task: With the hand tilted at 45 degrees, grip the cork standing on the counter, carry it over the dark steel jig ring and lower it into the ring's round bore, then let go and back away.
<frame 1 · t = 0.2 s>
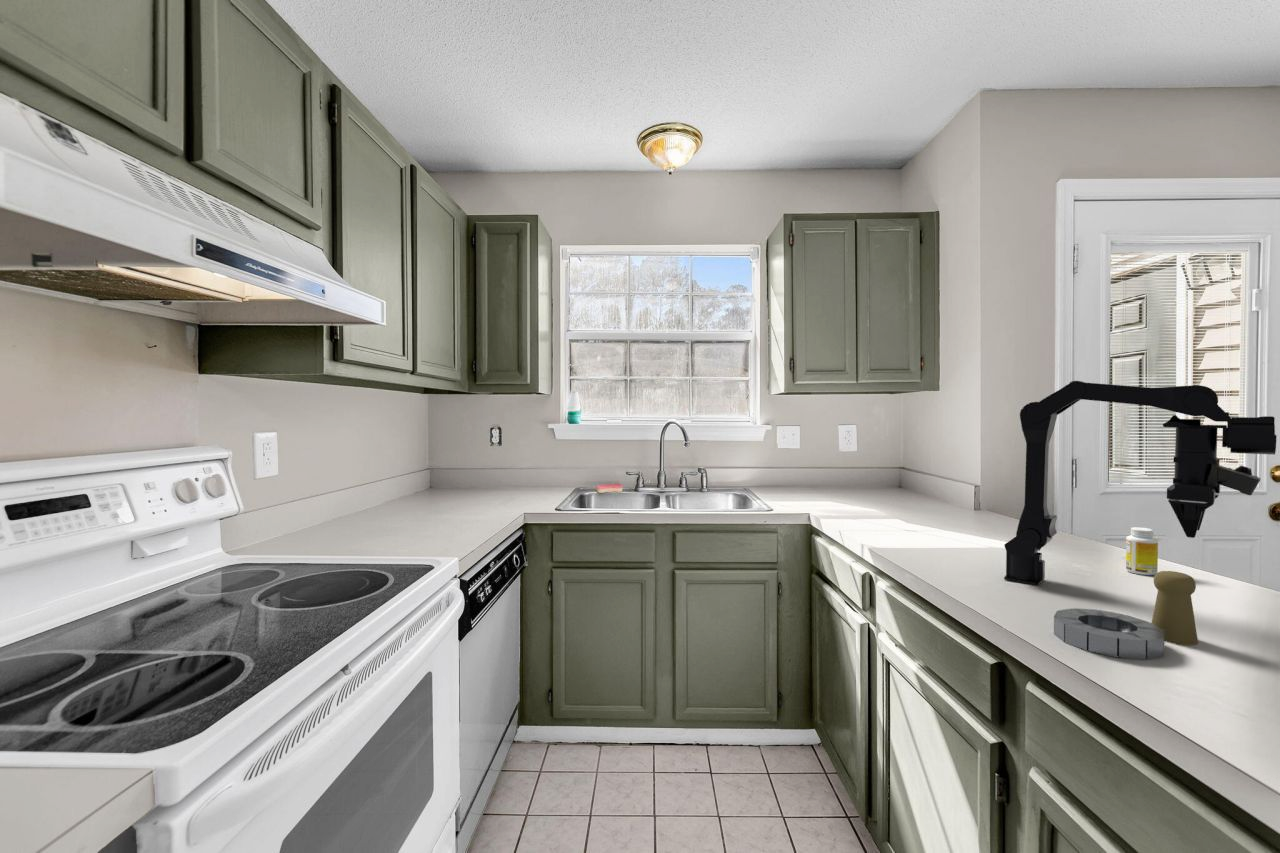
hand: (1193, 533, 111), 14 cm above the table, tool pointing down, fingers open, 9 cm apart
cork: (1173, 639, 98), on the table
supplement bottle: (1141, 573, 135), on the table
jig: (1106, 641, 96), on the table
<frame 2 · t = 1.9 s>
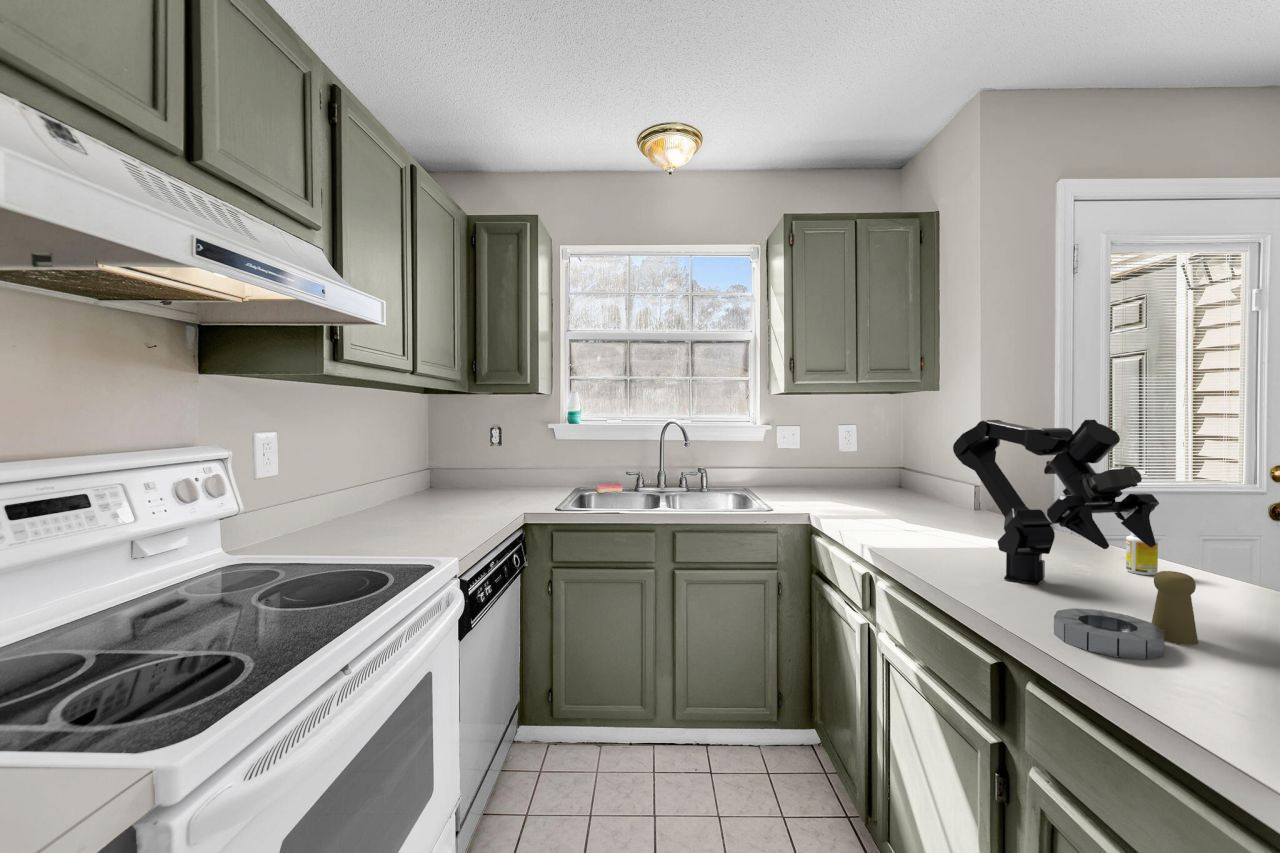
hand: (1130, 547, 105), 13 cm above the table, tool tilted 45°, fingers open, 9 cm apart
nothing on the table moved.
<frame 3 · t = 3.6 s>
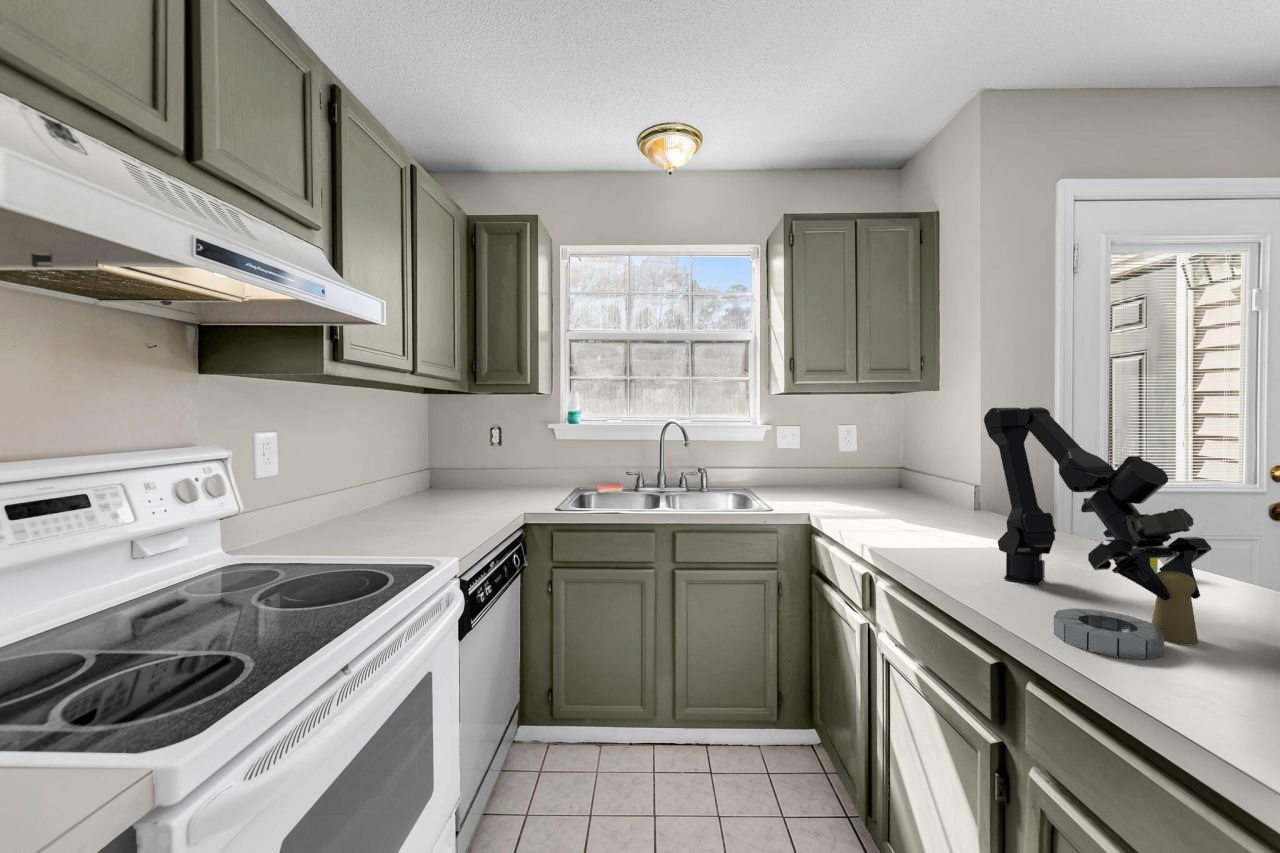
hand: (1182, 598, 96), 7 cm above the table, tool tilted 45°, fingers closed on cork, 5 cm apart
cork: (1173, 638, 98), on the table, touching gripper
everything else where it was.
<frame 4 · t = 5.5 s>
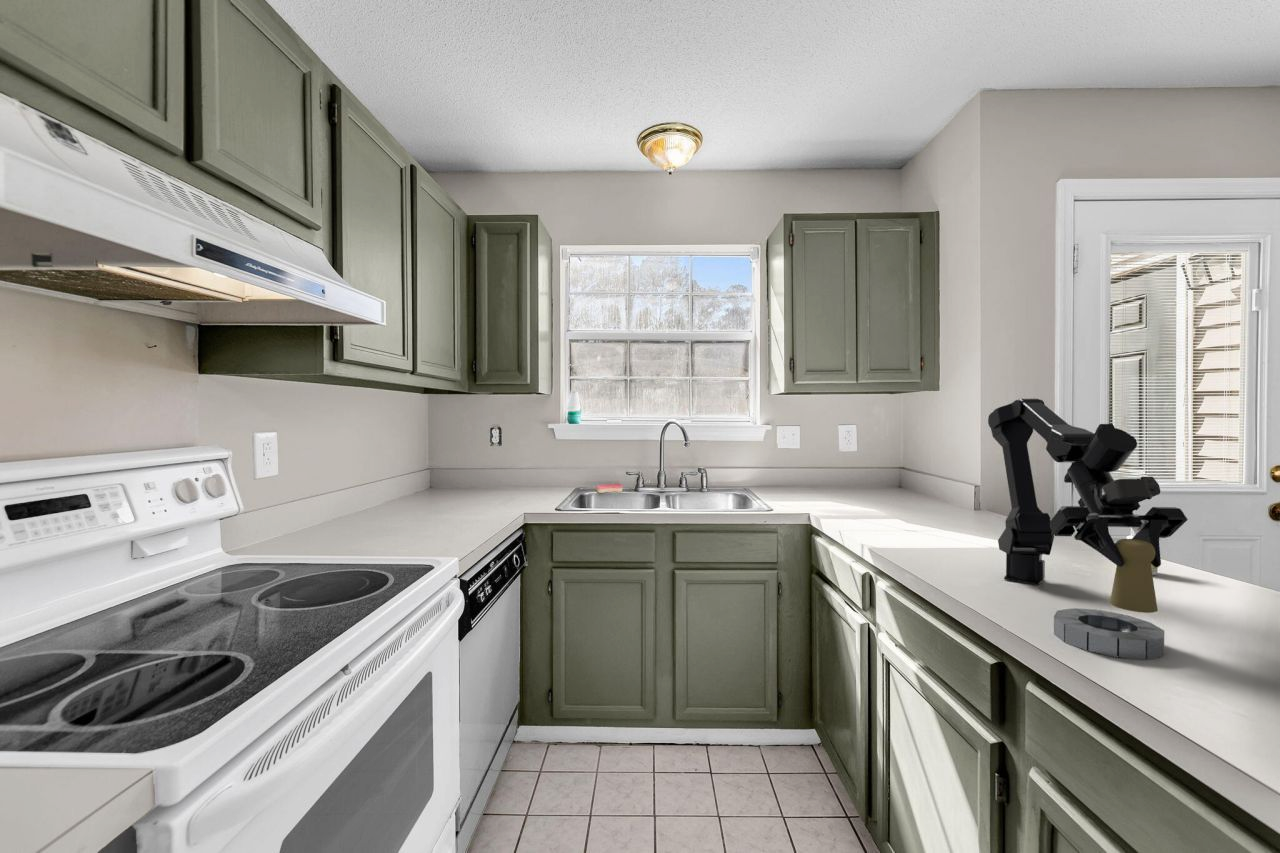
hand: (1139, 565, 95), 13 cm above the table, tool tilted 45°, fingers closed on cork, 5 cm apart
cork: (1133, 607, 96), point 6 cm above the table, touching gripper
everything else where it was.
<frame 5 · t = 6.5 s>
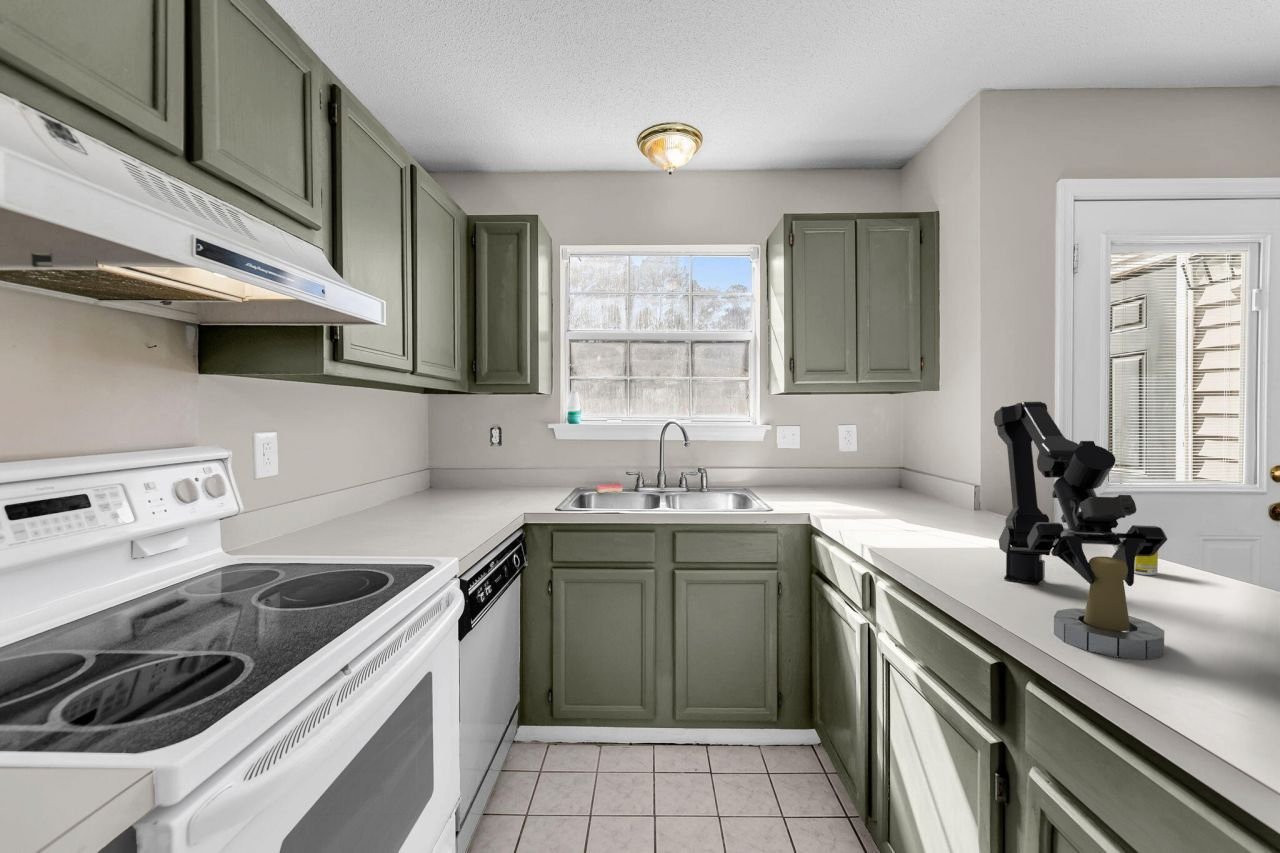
hand: (1111, 583, 95), 10 cm above the table, tool tilted 45°, fingers closed on cork, 5 cm apart
cork: (1106, 624, 97), point 3 cm above the table, touching gripper
everything else where it was.
when the fingers open (9 cm above the table, at t = 7.1 s): cork drops 1 cm, resting on jig.
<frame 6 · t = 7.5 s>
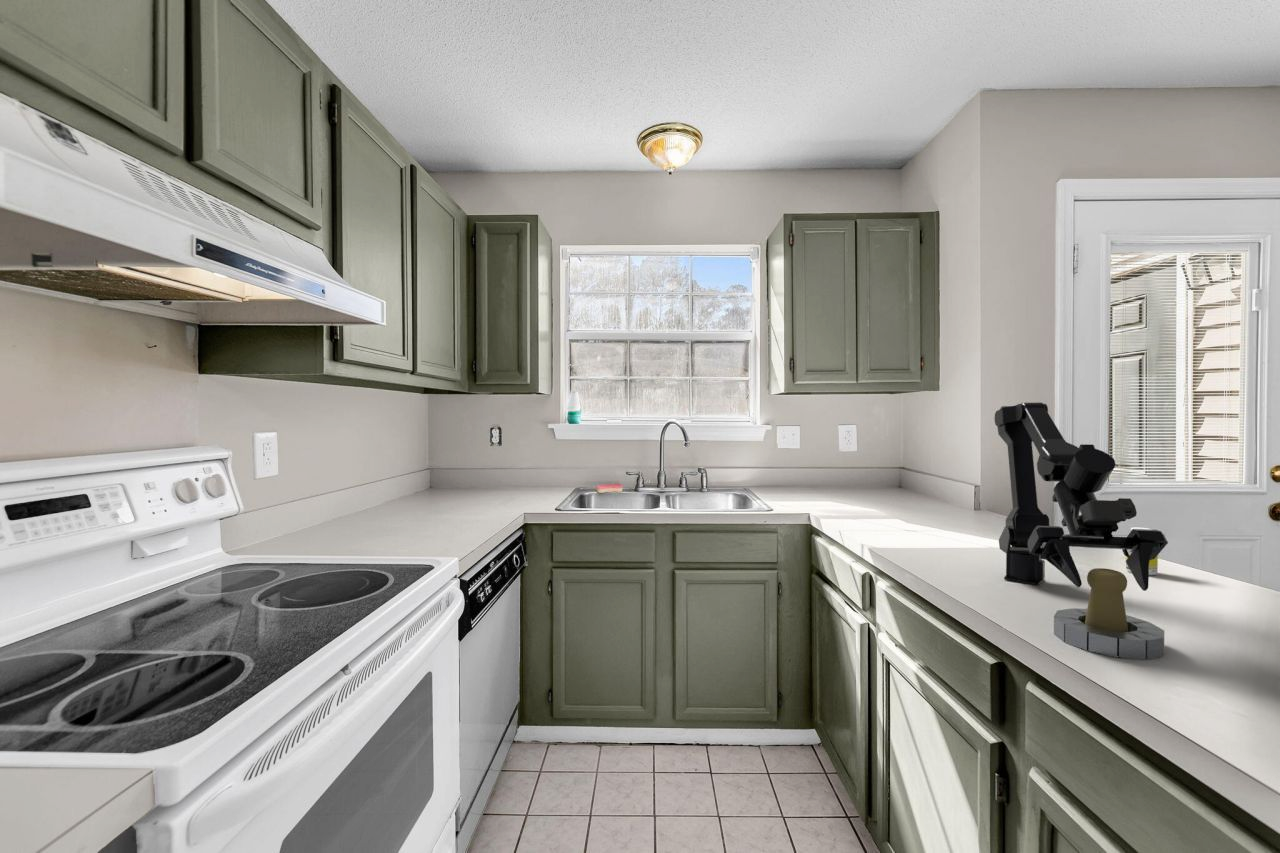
hand: (1112, 587, 95), 9 cm above the table, tool tilted 45°, fingers open, 9 cm apart
cork: (1105, 636, 97), point 1 cm above the table, touching jig
everything else where it was.
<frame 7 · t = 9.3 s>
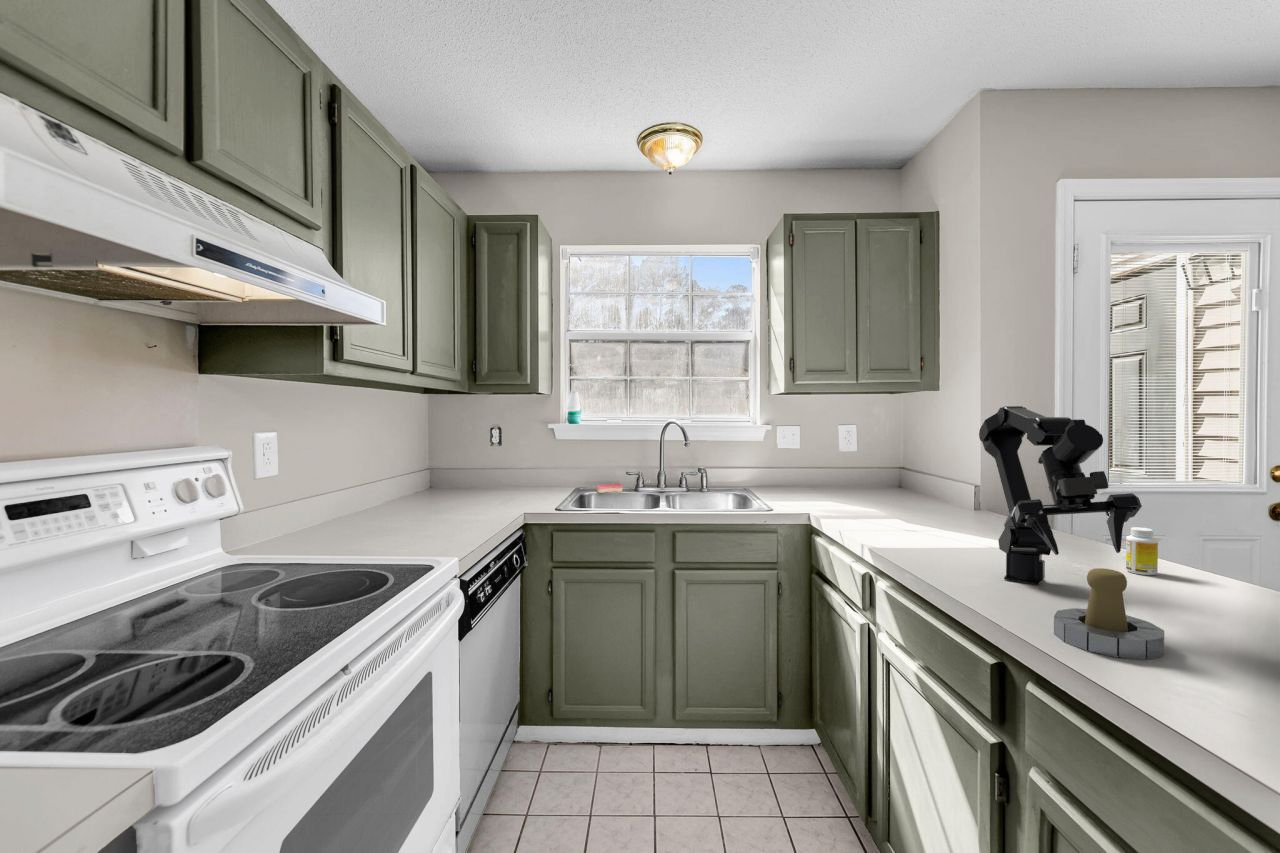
hand: (1087, 553, 106), 12 cm above the table, tool tilted 30°, fingers open, 9 cm apart
nothing on the table moved.
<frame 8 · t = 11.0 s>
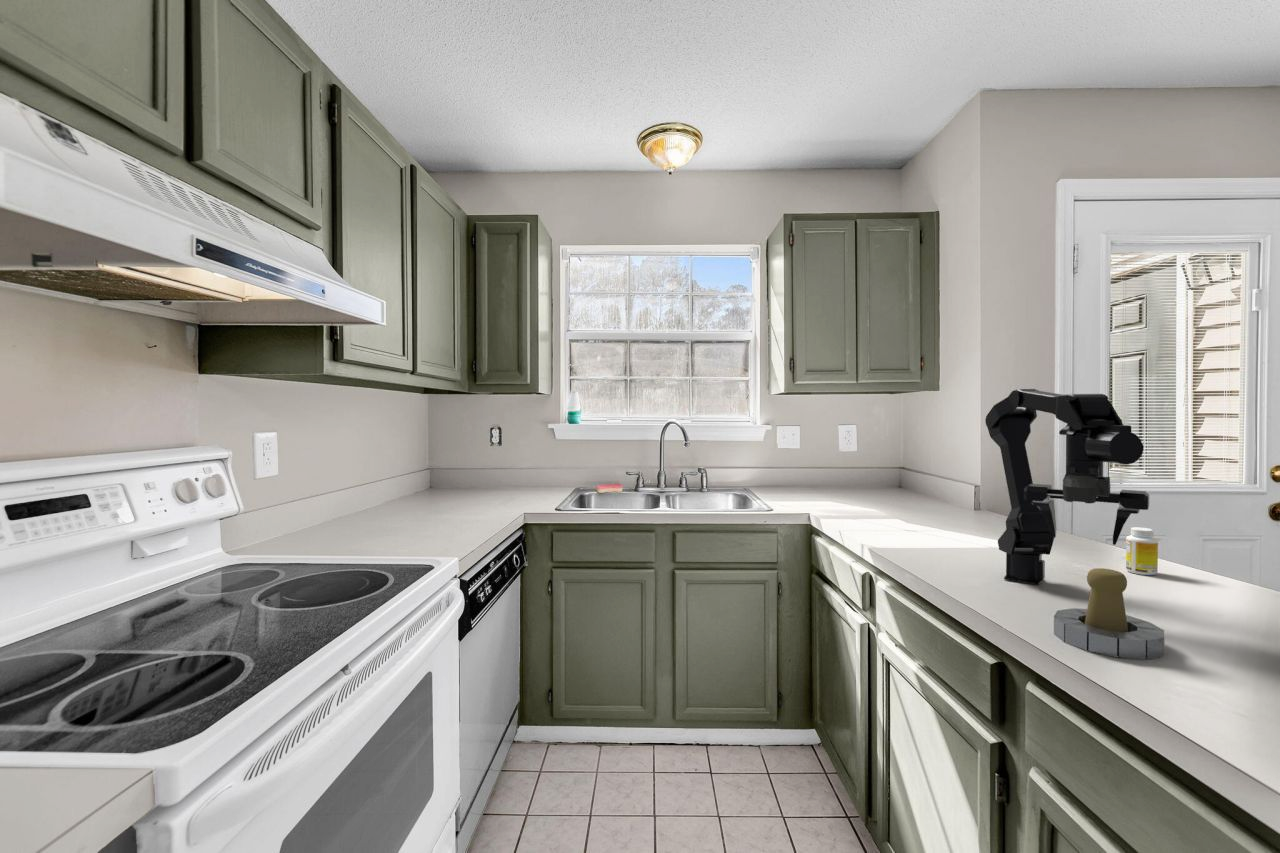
hand: (1083, 540, 112), 13 cm above the table, tool pointing down, fingers open, 9 cm apart
nothing on the table moved.
at the end: cork 0.3 cm off-centre on the jig, point 0.6 cm above the jig's base; cork tilted 0°; the gripper is holding nothing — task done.
